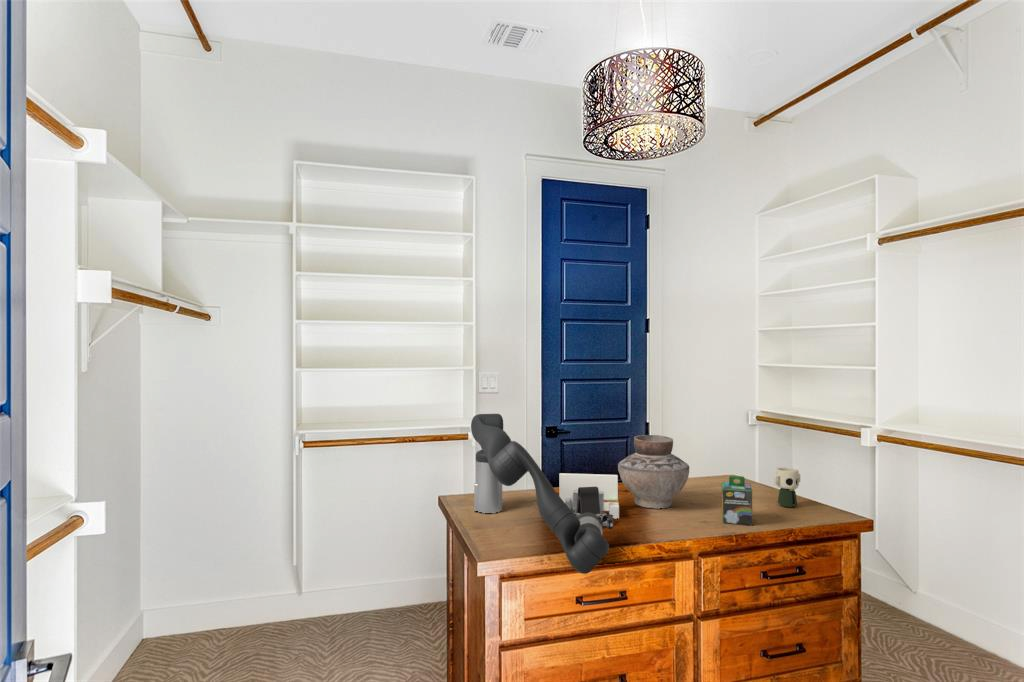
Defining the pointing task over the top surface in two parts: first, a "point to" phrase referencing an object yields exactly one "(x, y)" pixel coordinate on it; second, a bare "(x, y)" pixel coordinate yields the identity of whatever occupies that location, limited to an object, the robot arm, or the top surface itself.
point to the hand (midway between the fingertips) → (588, 513)
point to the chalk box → (737, 501)
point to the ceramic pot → (653, 472)
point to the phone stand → (588, 500)
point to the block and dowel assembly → (601, 500)
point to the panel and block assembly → (590, 480)
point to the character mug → (787, 485)
